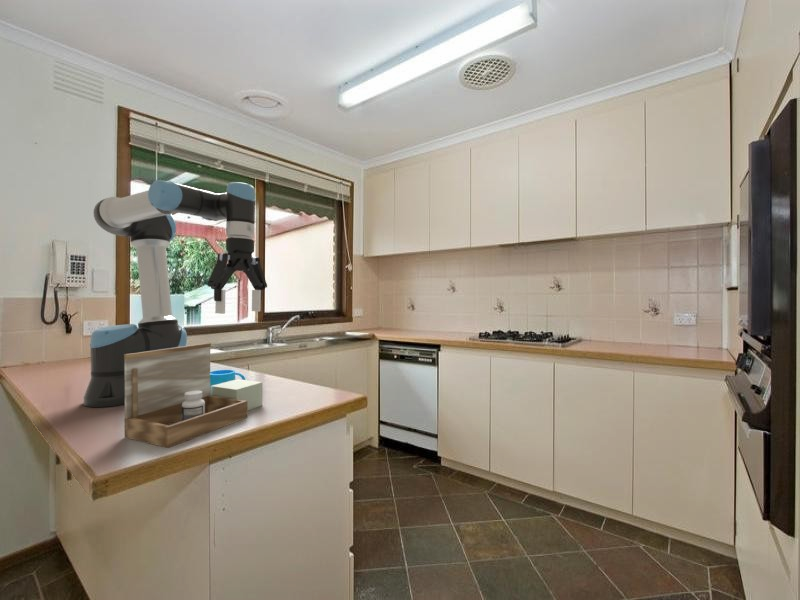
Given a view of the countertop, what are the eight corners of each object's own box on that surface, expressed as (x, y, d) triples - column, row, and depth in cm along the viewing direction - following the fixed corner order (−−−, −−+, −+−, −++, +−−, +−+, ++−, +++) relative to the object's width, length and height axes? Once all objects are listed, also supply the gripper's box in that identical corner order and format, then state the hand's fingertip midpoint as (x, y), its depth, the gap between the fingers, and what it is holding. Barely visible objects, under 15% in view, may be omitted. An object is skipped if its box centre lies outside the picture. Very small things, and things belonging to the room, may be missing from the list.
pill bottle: (187, 423, 100) (187, 389, 100) (208, 423, 101) (208, 389, 101) (177, 431, 95) (177, 395, 95) (199, 430, 95) (199, 394, 95)
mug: (213, 402, 120) (213, 375, 120) (204, 396, 126) (204, 372, 126) (250, 395, 129) (250, 370, 129) (240, 390, 135) (240, 367, 135)
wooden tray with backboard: (124, 437, 91) (124, 354, 90) (207, 410, 112) (207, 343, 112) (168, 447, 85) (167, 359, 84) (247, 417, 106) (247, 346, 106)
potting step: (210, 410, 112) (210, 386, 112) (237, 401, 121) (237, 379, 121) (236, 414, 108) (236, 389, 108) (262, 405, 117) (262, 382, 117)
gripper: (214, 231, 98) (213, 315, 98) (279, 243, 121) (278, 311, 122) (193, 232, 101) (192, 313, 101) (260, 243, 124) (259, 309, 124)
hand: (239, 312), depth 111 cm, fingers open, 13 cm apart
